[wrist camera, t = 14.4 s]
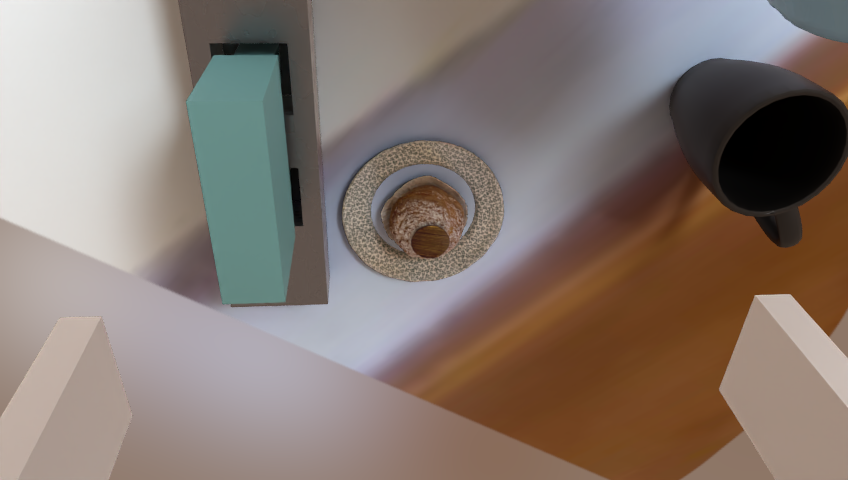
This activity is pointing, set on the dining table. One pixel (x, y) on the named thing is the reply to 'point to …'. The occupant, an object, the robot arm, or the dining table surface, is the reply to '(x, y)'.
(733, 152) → the mug
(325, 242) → the rail
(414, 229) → the pastry
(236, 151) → the clip
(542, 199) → the dining table surface
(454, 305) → the dining table surface
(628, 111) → the dining table surface
